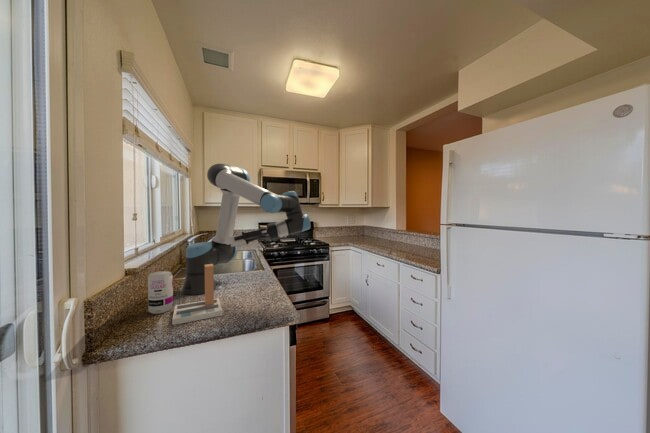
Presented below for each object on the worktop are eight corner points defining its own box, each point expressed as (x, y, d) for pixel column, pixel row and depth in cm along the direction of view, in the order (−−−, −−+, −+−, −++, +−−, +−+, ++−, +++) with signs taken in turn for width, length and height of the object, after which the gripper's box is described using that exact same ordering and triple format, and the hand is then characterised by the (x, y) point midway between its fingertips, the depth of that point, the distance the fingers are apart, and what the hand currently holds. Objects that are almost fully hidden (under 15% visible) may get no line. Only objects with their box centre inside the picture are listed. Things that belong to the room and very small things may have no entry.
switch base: (175, 310, 95) (175, 302, 95) (218, 302, 102) (218, 296, 102) (172, 325, 82) (172, 316, 82) (222, 315, 90) (222, 307, 90)
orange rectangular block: (204, 304, 95) (204, 264, 95) (213, 302, 97) (212, 263, 96) (205, 307, 92) (205, 266, 91) (213, 306, 93) (213, 265, 93)
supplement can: (169, 304, 101) (168, 269, 100) (176, 309, 95) (175, 272, 95) (145, 310, 94) (145, 273, 94) (151, 316, 89) (151, 277, 89)
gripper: (281, 235, 95) (226, 250, 89) (277, 240, 119) (234, 252, 113) (276, 217, 96) (221, 231, 90) (273, 226, 120) (230, 237, 114)
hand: (228, 242), depth 101 cm, fingers open, 13 cm apart
